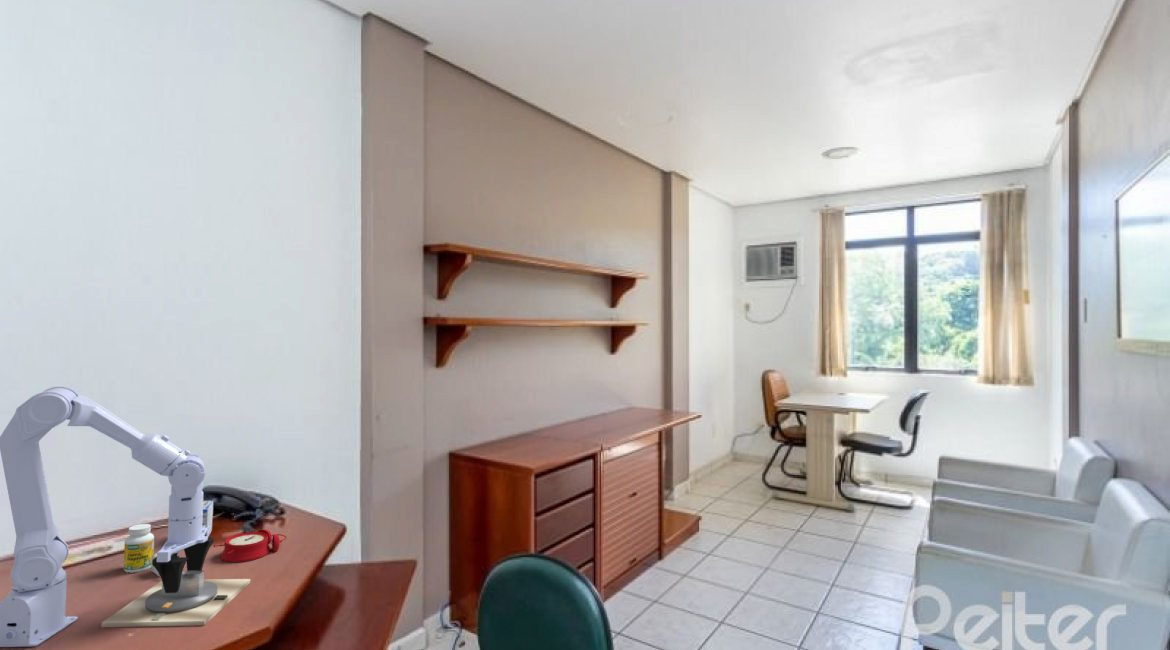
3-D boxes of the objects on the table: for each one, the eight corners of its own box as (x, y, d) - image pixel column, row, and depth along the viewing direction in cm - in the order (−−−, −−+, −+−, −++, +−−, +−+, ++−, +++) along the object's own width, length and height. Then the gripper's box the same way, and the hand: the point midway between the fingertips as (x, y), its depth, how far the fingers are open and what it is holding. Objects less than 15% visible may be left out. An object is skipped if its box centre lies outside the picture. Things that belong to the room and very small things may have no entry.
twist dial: (196, 612, 110) (197, 585, 110) (130, 613, 109) (131, 586, 109) (228, 584, 122) (229, 560, 122) (169, 584, 120) (170, 560, 121)
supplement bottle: (154, 561, 134) (155, 521, 134) (152, 570, 129) (153, 528, 129) (124, 566, 131) (126, 524, 131) (121, 575, 126) (123, 532, 126)
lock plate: (204, 625, 107) (204, 618, 107) (101, 627, 105) (101, 620, 105) (250, 582, 125) (250, 577, 125) (162, 583, 123) (163, 577, 123)
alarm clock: (208, 542, 138) (271, 513, 150) (214, 565, 139) (275, 535, 151) (228, 553, 132) (291, 522, 144) (233, 577, 133) (295, 545, 145)
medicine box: (192, 533, 152) (193, 501, 152) (212, 531, 154) (213, 499, 154) (186, 544, 145) (187, 510, 145) (206, 542, 147) (208, 508, 147)
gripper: (185, 529, 108) (183, 600, 108) (225, 505, 123) (223, 567, 123) (146, 529, 108) (143, 600, 108) (190, 505, 122) (188, 568, 122)
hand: (183, 583), depth 115 cm, fingers open, 7 cm apart
